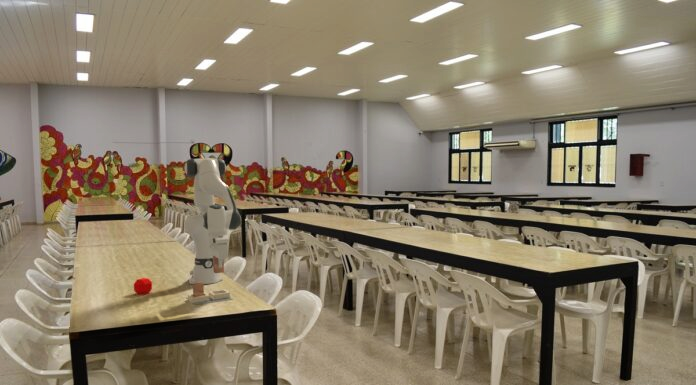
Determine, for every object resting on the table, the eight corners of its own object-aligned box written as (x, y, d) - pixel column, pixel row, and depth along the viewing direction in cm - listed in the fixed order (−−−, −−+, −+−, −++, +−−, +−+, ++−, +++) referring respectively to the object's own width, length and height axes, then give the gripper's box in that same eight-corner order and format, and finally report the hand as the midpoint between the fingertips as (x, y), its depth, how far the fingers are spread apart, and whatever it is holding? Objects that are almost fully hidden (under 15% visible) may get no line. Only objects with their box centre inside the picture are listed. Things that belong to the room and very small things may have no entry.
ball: (145, 291, 262) (144, 276, 262) (154, 292, 258) (154, 278, 258) (131, 294, 255) (131, 279, 255) (141, 295, 251) (141, 281, 251)
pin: (193, 300, 234) (192, 283, 234) (201, 298, 237) (201, 282, 236) (195, 301, 231) (194, 284, 231) (204, 300, 233) (203, 283, 233)
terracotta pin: (213, 272, 239) (212, 255, 239) (221, 271, 241) (221, 254, 241) (215, 273, 236) (215, 256, 236) (224, 272, 238) (223, 255, 238)
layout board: (185, 300, 239) (185, 292, 239) (222, 294, 249) (221, 287, 249) (194, 308, 224) (194, 300, 224) (233, 302, 233) (233, 294, 233)
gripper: (205, 236, 245) (206, 264, 246) (217, 240, 228) (218, 270, 228) (217, 235, 249) (218, 263, 249) (230, 239, 231) (231, 268, 231)
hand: (218, 266), depth 238 cm, fingers closed on terracotta pin, 4 cm apart
